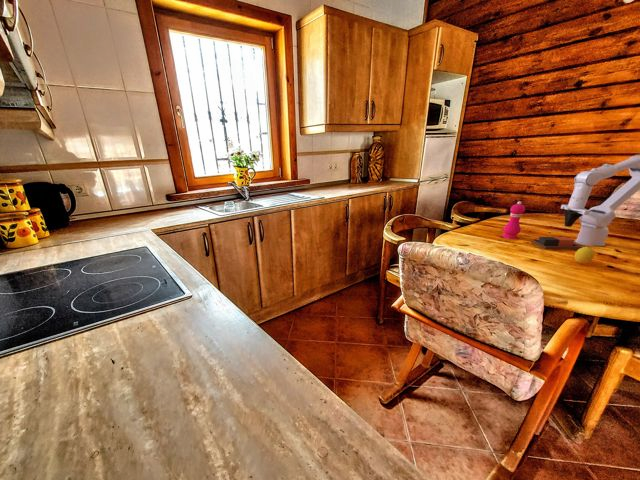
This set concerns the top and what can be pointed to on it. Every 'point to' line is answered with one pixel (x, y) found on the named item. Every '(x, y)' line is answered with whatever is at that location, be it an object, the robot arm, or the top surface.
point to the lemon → (584, 255)
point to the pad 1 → (548, 241)
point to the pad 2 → (565, 241)
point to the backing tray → (574, 247)
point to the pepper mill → (514, 221)
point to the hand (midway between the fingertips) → (567, 226)
